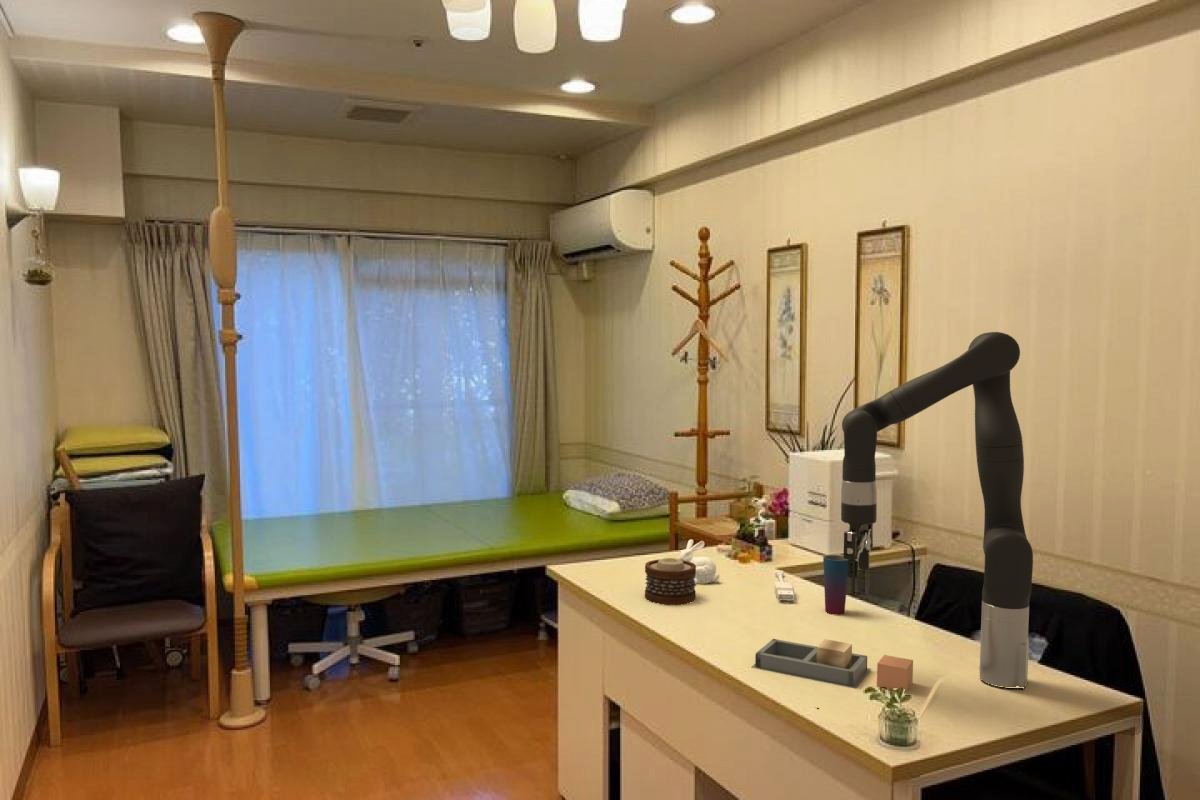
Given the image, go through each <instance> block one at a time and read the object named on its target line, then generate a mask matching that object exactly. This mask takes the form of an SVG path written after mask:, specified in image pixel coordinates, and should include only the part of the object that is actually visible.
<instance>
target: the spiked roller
mask: <svg viewBox="0 0 1200 800" xmlns="http://www.w3.org/2000/svg"><path fill="white" fill-rule="evenodd" d="M644 573H645V578H644V579H645V580H646V582H645V585H646V586H645V588H644V589H645V590H644V598H645V599H646V601H648V600H649V601H648V602H650V601H651V602H650V603H653V602H654V604H657V603H659V604H658V605H663V604H664V606H665V605H666V606H682V605H681V604H683V605H686V604H687V603H688V604H691V603H690V602H692V603H693V602H695V601H696V589H695V588H696V587H697V584H695V580H694V579H693V578H695V576H696V575H695V574H696V565H695V564H694V563H691V562H689V561H684V560H679V558H675V557H666V558H661V559H660V558H659V559H654V560H648V561H647V562H646V563H645V566H644ZM694 600H695V601H694Z"/></svg>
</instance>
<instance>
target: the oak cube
mask: <svg viewBox="0 0 1200 800" xmlns="http://www.w3.org/2000/svg"><path fill="white" fill-rule="evenodd" d="M816 647H817V663H819V664H824V665H829V666H834V667H839V668H845V669H850V668H851V667H852V653H853V644H852V643H848V642H842V641H838V640H832V639H827V638H824V640H822V641H821V643H819V644H818V645H817V646H816Z"/></svg>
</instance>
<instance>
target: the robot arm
mask: <svg viewBox="0 0 1200 800" xmlns="http://www.w3.org/2000/svg"><path fill="white" fill-rule="evenodd" d="M1020 356H1021V350H1020V346H1019V343H1018V341H1017V340H1016V339H1015V338H1014V337H1012V335H1009V334H1007V333H1005V332H1001V331H990V332H984V333H981V334H979V335H977V336H976V337H974V338H973V340H972V341H971V342H970V343H969V345H968V349H967V350H966V351H965V352H963V353H962V354H960V355H959V356H958V357H956V358H954V359H952V360H951V361H949V362H948V363H945V364H943V365H941V366H940V367H938V368H936V369H933V370H931V371H928V372H926V373H924V374H921V375H919V376H917V377H915V378H912V379H911V380H909V381H906V382H905V383H902V384H900V385H898V386H897V387H895V388H894V389H892V390H890V391H888V392H885V394H883V395H881V396H880V397H878V398H876V399H873V400H871V401H869V402H867V403H865V404H862V405H860V406H858V407H855V408H854V409H852V410H850V411H849V412H848V413H846V414H845V415H844V417H843V419H842V422H841V429H842V432H843V445H844V446H843V448H844V450H843V452H844V456H843V459H842V472H841V473H842V481H841V482H842V483H841V488H840V489H841V491H840V492H841V493H840V494H841V497H840V498H841V499H840V500H841V501H840V502H841V503H840V510H841V511H840V520H841V522H843V523H844V524H848V525H849V527H848V528H849V529H848V530H847V531H844V533H843V554H842V555H843V557H844V559H846V560H847V576H848V578H850V579H857V578H858V577H859V570H865V571H868V570H869V569H870V553H871V551H872V549H873V547H874V544H873V543H874V541H873V539H874V536H873V535H874V534H873V533H874V530H873V529H874V528H873V525H874V524H875V523H877V516H878V515H877V513H878V512H877V511H878V510H877V509H878V507H877V506H878V504H877V503H878V502H877V500H878V498H877V495H878V492H877V484H876V483H877V481H876V480H877V479H876V477H877V476H876V472H877V471H876V452H877V450H876V449H877V443H878V441H877V440H878V439H877V438H878V433H879V432H880V431H881V430H882V431H883V430H884V429H885V428H888V427H889V426H891V425H896V424H900V423H901V422H904V421H906V420H908V419H910V418H912V417H914V416H916V415H917V414H919V413H921V412H923V411H925V410H927V409H928V408H930V407H932V406H934V405H935V404H937V403H939V402H941V401H942V400H944V399H946V398H948V397H949V396H951V395H953V394H955V393H957V392H959V391H961V390H963V389H965V388H968V387H970V386H972V388H973V394H974V432H975V433H974V434H975V435H974V436H975V437H974V438H975V439H974V440H975V453H976V465H977V471H978V480H979V484H980V489H981V494H982V499H983V506H984V508H983V509H984V523H983V524H984V529H983V542H982V549H983V553H984V570H983V571H984V572H983V576H984V577H983V587H982V591H981V595H982V596H981V598H982V599H981V616H980V617H981V621H980V623H981V624H980V650H979V653H980V655H979V667H978V668H979V677H980V678H979V679H982V680H983V681H984V682H987V683H989V684H993V685H997V686H1003V687H1016V686H1019V687H1025V684H1026V685H1027V683H1026V681H1027V682H1028V675H1029V673H1028V672H1029V671H1028V670H1029V648H1030V638H1029V622H1030V621H1029V617H1030V599H1031V595H1032V585H1033V568H1034V567H1033V565H1034V553H1033V552H1034V551H1033V548H1032V545H1031V543H1030V542H1029V540H1028V538H1027V535H1026V529H1025V525H1024V518H1023V513H1022V512H1023V511H1022V499H1021V498H1022V492H1023V484H1024V474H1025V462H1024V461H1025V458H1024V456H1025V455H1024V442H1023V436H1022V431H1021V427H1020V423H1019V420H1018V417H1017V413H1016V411H1015V408H1014V404H1013V401H1012V394H1011V393H1012V392H1011V371H1012V370H1013V369H1014V368H1015V367H1016V366H1017V364H1018V362H1019V360H1020ZM983 681H982V682H983ZM984 682H983V683H984ZM989 684H988V685H989ZM1025 688H1026V687H1025Z"/></svg>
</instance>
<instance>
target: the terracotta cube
mask: <svg viewBox="0 0 1200 800" xmlns="http://www.w3.org/2000/svg"><path fill="white" fill-rule="evenodd" d="M876 664H877V665H876V668H877V669H876V687H877V688H878V687H879V688H882V687H886V688H885V689H888V690H893V688H899V687H903V688H904V689H905V692H904V693H908V691H909V689H910V687H911V685H912V684H913V678H914V659H909V658H903V657H898V656H892V655H887V654H884V655H883V656H882V657H881V658H880V659H879V661H878V662H877V663H876Z"/></svg>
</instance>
